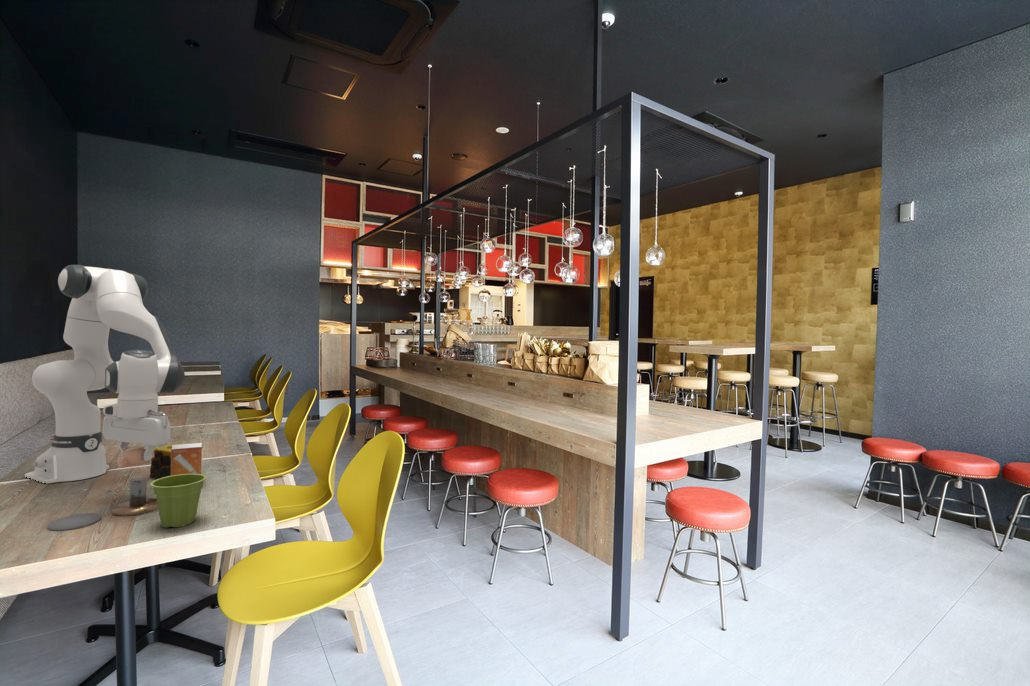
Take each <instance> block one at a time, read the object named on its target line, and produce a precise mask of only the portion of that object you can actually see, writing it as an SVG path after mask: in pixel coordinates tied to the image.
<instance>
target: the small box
mask: <svg viewBox="0 0 1030 686" xmlns="http://www.w3.org/2000/svg"><path fill="white" fill-rule="evenodd" d="M171 445H172V444H171ZM202 457H203V443H202V442H196V443H195V442H194V443H183V444H182V445H172V450H171V476H173V475H180V474H202V470H203V469H202V462H203V461H202V460H203V459H202Z"/></svg>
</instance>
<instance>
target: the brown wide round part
mask: <svg viewBox="0 0 1030 686" xmlns="http://www.w3.org/2000/svg"><path fill="white" fill-rule="evenodd" d="M156 509H157V510H158V504H157V499H156V498H155V497H153V498H152V497H149V498H148V497H147V478H145V477H144V478H143V477H140V478H132V479H131V480H129V500H128V501H125V502H122V503H121V502H120V503H119V504H117V505H115V506H113V507H112V508H111V514H112V515H113V516H115V515H116V516H115V517H133V515H134V516H139V515H140V516H141V515H144V513H145V514H149V513H152V512H154V510H155V511H157V510H156ZM151 511H152V512H151ZM148 512H149V513H148Z"/></svg>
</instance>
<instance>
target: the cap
mask: <svg viewBox="0 0 1030 686" xmlns="http://www.w3.org/2000/svg"><path fill="white" fill-rule="evenodd" d="M145 450H146V449H145V448H144V445H135V446H129V447H128V448H125V449H123V454H122V457H121V458H119V459H117V461H116V462H117V463H116V465H117V466H120V467H121V466H123V467H124V466H125V467H126V466H127V467H137V466H142V465H146V464H149V463H151V460H148V461H144V460H142V459H141V458H142V457H141V456H142V454H144V453H145ZM152 458H154V452H153V453H152Z"/></svg>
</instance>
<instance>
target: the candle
mask: <svg viewBox="0 0 1030 686" xmlns="http://www.w3.org/2000/svg"><path fill="white" fill-rule="evenodd" d="M182 444H184V443H181V442H177V443H172V444H167V445H163V446H158V447H156V448H155V450H154V451H153V452H154V458H152V459H151V460H150V468H149V472H150V475H149V478H151V479H153V478H155V479H154V480H157V479H160V478H163V477H168V476H171V450H172V445H182Z"/></svg>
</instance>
